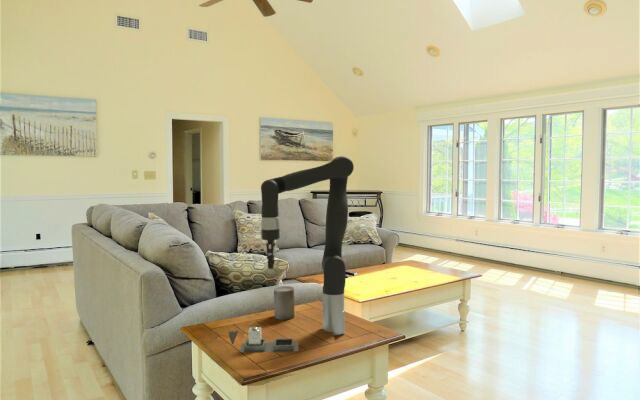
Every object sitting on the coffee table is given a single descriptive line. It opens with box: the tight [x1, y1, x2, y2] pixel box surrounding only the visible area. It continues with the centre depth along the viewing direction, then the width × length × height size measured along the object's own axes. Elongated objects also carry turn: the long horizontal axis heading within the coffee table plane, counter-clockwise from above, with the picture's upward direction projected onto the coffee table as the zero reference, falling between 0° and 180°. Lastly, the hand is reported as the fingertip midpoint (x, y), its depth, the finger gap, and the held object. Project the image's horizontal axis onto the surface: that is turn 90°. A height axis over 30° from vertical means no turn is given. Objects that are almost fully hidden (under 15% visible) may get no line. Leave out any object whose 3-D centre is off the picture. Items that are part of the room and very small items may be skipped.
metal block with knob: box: [248, 326, 263, 346], centre depth 179 cm, size 4×4×8 cm
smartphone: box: [228, 330, 239, 344], centre depth 195 cm, size 7×1×15 cm
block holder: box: [239, 338, 299, 353], centre depth 179 cm, size 22×9×3 cm, turn 92°
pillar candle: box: [273, 285, 295, 321], centre depth 221 cm, size 10×10×15 cm
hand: (271, 266), depth 195 cm, fingers open, 8 cm apart
